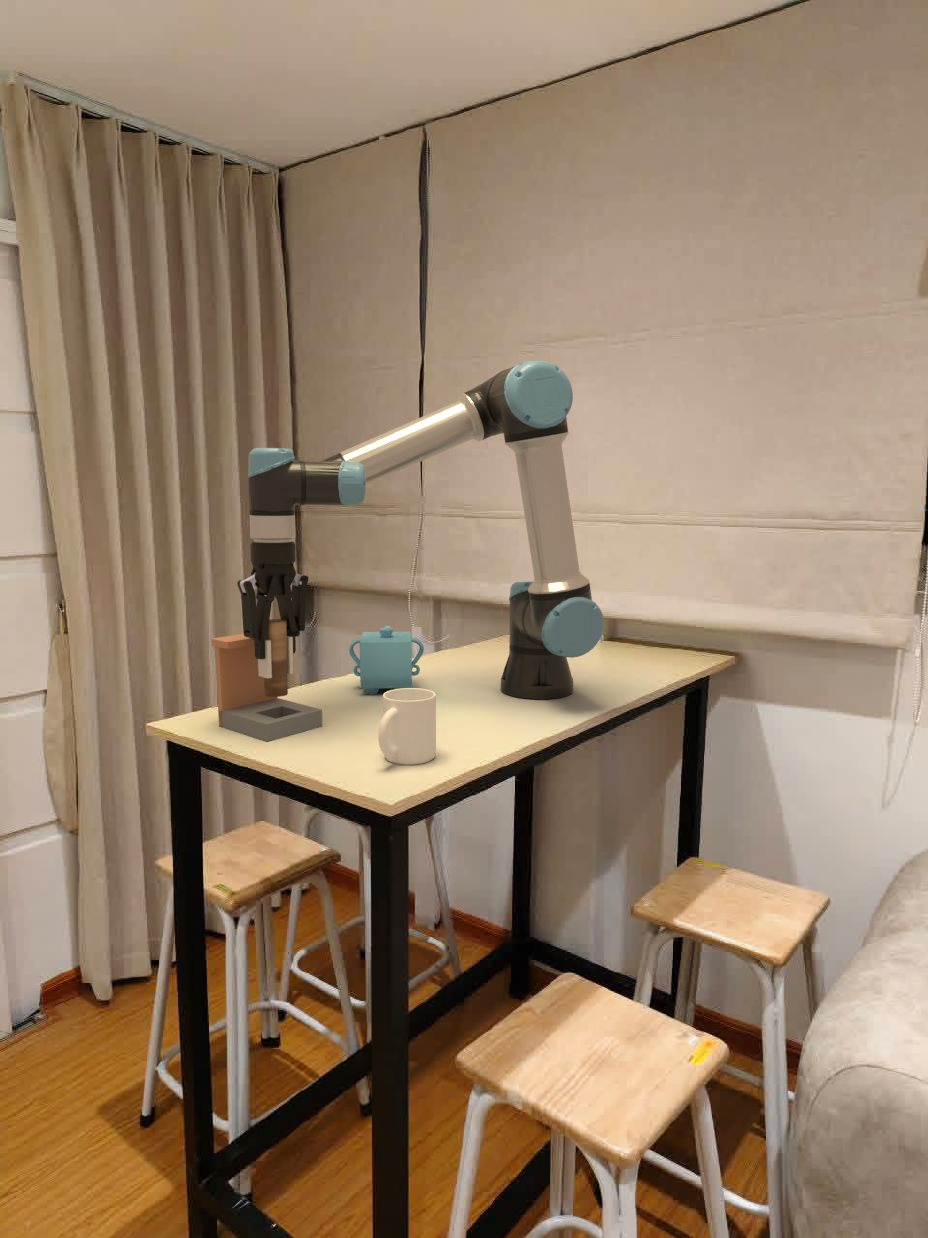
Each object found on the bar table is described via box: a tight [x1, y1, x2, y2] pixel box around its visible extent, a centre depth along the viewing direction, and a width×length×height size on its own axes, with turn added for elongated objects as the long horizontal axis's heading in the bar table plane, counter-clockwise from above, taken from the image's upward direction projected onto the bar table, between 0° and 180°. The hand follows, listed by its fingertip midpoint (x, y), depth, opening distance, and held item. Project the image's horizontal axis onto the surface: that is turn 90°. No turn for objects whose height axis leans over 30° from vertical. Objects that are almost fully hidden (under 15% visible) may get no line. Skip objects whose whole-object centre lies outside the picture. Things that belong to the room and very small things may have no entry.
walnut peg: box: [264, 618, 289, 698], centre depth 149 cm, size 4×4×13 cm
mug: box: [377, 687, 437, 766], centre depth 133 cm, size 12×8×10 cm
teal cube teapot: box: [348, 625, 425, 695], centre depth 181 cm, size 18×16×13 cm
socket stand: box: [211, 633, 323, 742], centre depth 151 cm, size 15×13×16 cm
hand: (276, 674), depth 149 cm, fingers closed on walnut peg, 4 cm apart
